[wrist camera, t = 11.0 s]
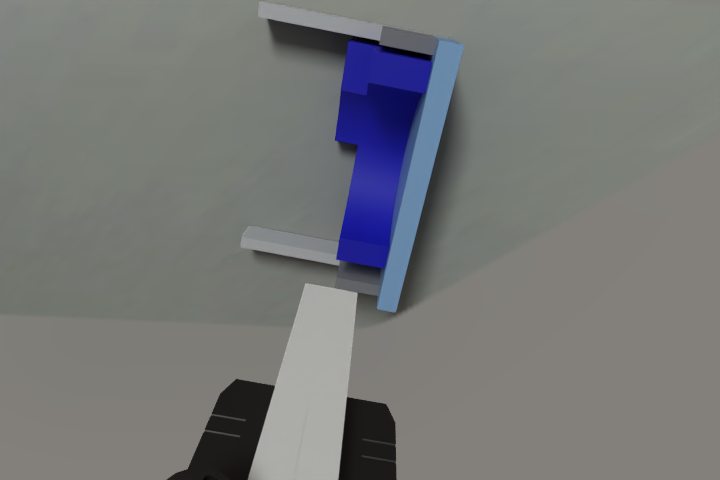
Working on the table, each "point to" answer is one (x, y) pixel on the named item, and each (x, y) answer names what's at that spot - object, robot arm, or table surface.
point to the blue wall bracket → (414, 162)
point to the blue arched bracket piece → (376, 141)
